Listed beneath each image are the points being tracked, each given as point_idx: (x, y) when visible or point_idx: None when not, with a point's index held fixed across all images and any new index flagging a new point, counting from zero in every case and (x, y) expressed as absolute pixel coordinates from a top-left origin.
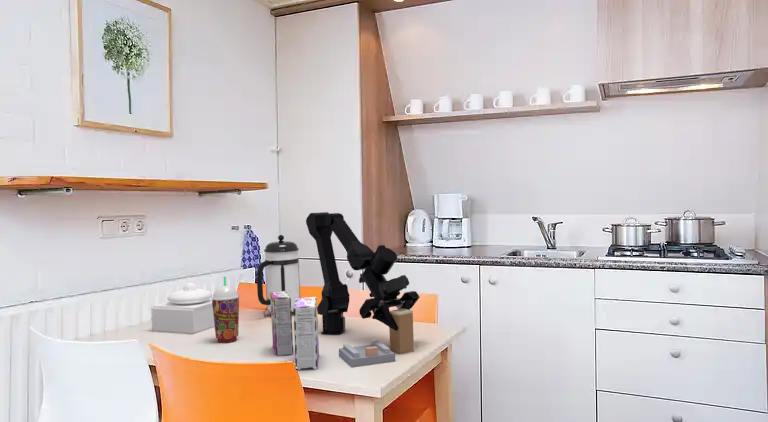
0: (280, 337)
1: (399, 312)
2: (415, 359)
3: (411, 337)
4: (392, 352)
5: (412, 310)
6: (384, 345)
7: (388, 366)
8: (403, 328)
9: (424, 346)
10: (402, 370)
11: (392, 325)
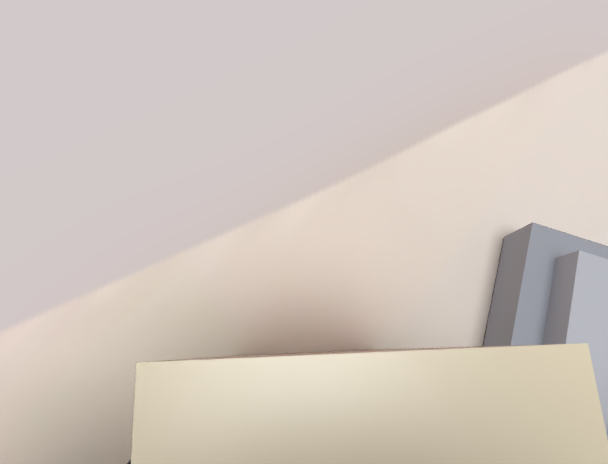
0: None
1: (536, 413)
2: (376, 178)
3: (251, 355)
4: (531, 261)
5: (138, 365)
6: None
7: (594, 182)
8: (380, 350)
9: (81, 398)
10: (565, 73)
11: None
